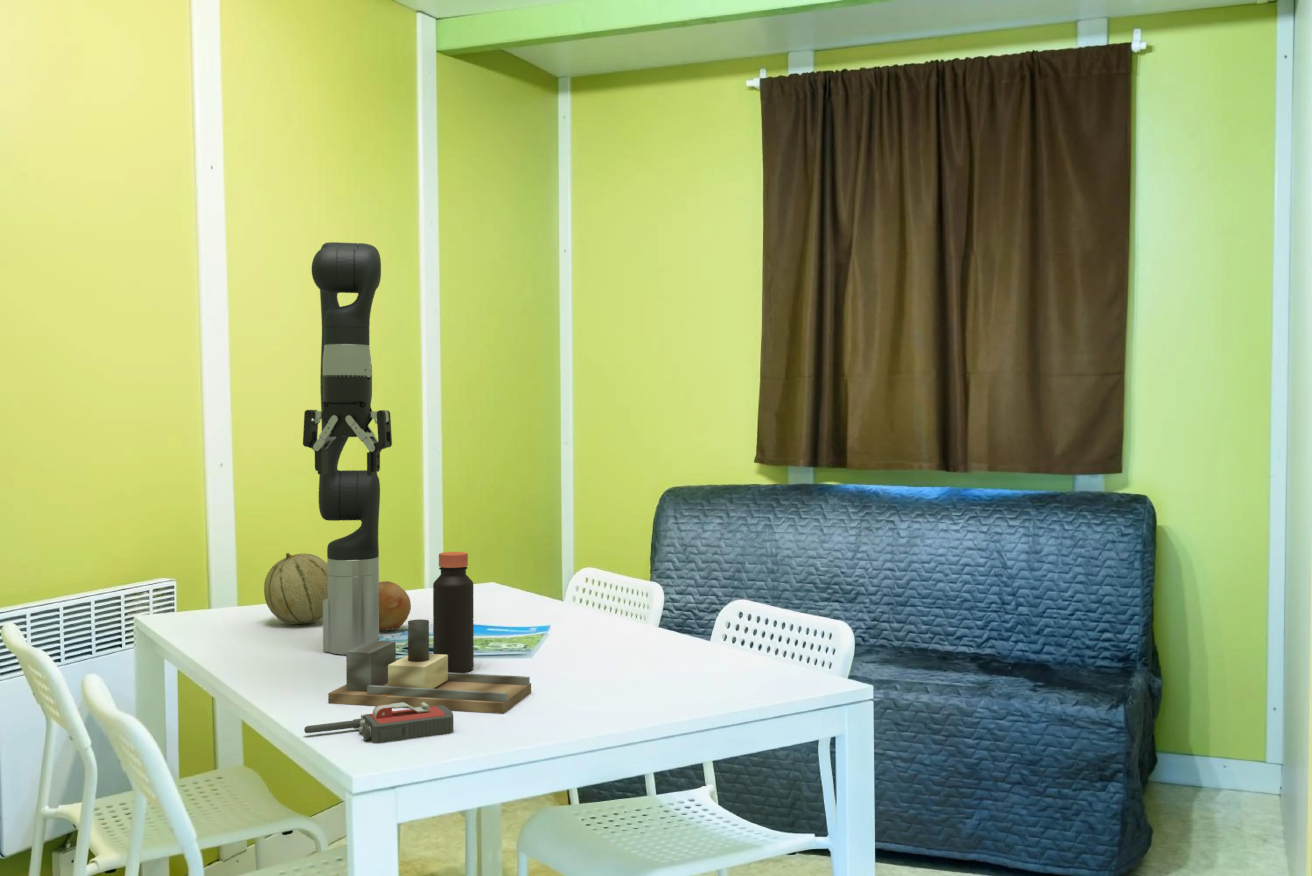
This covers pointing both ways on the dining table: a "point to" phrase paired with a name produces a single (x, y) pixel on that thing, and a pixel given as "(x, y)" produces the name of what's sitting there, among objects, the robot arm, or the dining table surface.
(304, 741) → the dining table surface
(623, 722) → the dining table surface
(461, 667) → the bottle
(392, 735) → the walkie-talkie
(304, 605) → the cantaloupe
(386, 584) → the onion
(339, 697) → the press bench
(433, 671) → the block
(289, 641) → the dining table surface
